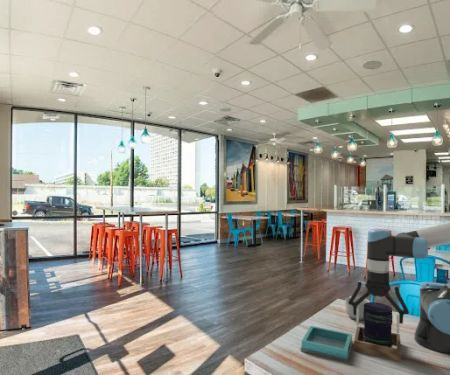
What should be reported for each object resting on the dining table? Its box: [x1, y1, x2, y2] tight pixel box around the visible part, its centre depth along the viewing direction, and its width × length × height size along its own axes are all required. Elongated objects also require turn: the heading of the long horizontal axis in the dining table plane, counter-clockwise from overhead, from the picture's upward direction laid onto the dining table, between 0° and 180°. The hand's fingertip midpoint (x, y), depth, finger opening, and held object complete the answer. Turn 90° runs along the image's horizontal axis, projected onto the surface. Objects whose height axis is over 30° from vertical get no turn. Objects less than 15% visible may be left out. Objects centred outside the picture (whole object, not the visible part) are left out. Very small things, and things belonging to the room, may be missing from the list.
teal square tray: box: [300, 325, 354, 363], centre depth 116 cm, size 16×16×4 cm
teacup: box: [344, 295, 371, 321], centre depth 148 cm, size 14×11×8 cm
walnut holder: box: [353, 325, 402, 362], centre depth 117 cm, size 15×15×4 cm
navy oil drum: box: [362, 301, 393, 348], centre depth 117 cm, size 10×10×15 cm
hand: (377, 327), depth 118 cm, fingers open, 13 cm apart
